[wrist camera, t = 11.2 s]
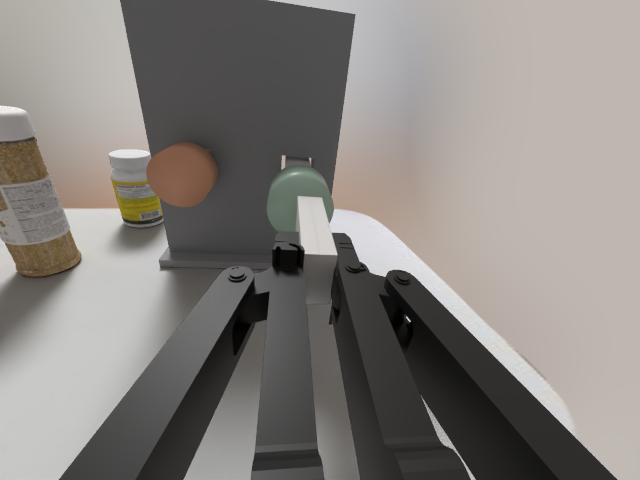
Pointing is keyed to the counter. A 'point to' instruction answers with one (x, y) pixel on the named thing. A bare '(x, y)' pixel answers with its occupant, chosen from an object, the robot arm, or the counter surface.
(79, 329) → the counter surface
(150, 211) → the supplement bottle
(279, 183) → the sage button
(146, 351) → the counter surface
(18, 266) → the spice jar
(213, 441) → the counter surface
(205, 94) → the button panel
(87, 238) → the counter surface
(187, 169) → the rust button
